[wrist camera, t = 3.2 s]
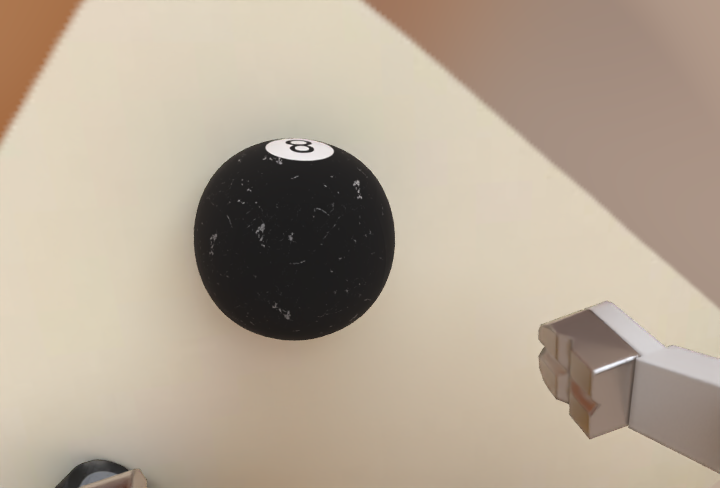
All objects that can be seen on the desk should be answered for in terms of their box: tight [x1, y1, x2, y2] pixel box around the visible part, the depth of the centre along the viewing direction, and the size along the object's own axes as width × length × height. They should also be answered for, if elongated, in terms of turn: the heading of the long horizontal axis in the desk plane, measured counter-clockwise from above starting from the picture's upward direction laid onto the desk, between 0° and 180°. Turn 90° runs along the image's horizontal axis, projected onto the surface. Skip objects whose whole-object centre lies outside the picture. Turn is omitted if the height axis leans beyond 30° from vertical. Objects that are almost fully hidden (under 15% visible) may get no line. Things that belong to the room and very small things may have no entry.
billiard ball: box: [194, 138, 395, 340], centre depth 18 cm, size 6×6×6 cm
